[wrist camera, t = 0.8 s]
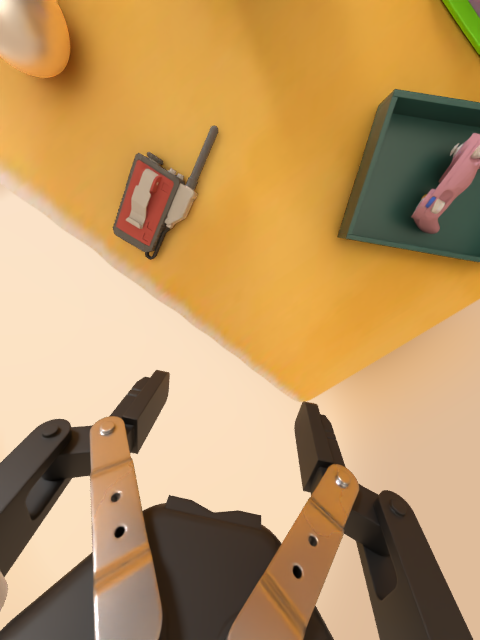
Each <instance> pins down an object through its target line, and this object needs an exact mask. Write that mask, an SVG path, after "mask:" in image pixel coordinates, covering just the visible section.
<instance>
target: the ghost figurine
mask: <svg viewBox="0 0 480 640" xmlns="http://www.w3.org/2000/svg"><path fill="white" fill-rule="evenodd" d="M69 56H70V37H69V32H68V28H67V24H66V21H65V18H64V16H63V13H62V11H61V9H60V7H59V5H58V3H57V1H56V0H0V57H1V58H2V59H3V60H5V61H6V62H7V63H9V64H10V65H11V66H13V67H14V68H16V69H18V70H20V71H22V72H24V73H26V74H28V75H31V76H35V77H39V78H50V77H54V76H56V75H58V74H60V73H61V72H62V71H63V70H64V69H65V67H66V65H67V63H68V60H69Z"/></svg>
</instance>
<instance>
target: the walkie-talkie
mask: <svg viewBox="0 0 480 640" xmlns="http://www.w3.org/2000/svg"><path fill="white" fill-rule="evenodd" d="M217 134H218V128H217V126H215V125H213V126H212V127H211V128H210V131H209V133H208V136H207V138H206V140H205V143H204V145H203V147H202V150H201V152H200V155H199V157H198V159H197V162H196V164H195V167H194V169H193V171H192V174H191V176H190V177H189V178H188V180H187V183H186V185H185V183H184V180H183V178H184V176H183V175H181V174H180V173H178V175H175V174H176V171H175V170H173V169H172V168H170V170H168V171H167V170H166V169H164V168H163V167H161V166H160V164H161V165H162V164H163V160H161V159H159V158H158V157H156V156H155V155H153V154H152V153H150V152H148V153H147V156H148V157H149V158H147V157H145V156H143V155H142V154H140V153H138V154H136V155H135V159H134V162H133V165H132V168H131V171H130V174H129V177H128V181H127V184H126V187H125V188H126V189H125V191H124V194H123V198H122V201H121V204H120V206H119V207H120V208H119V209H118V213H117V217H116V220H115V223H114V226H113V230H114V234H115V235H116V236H118V237H120V238H121V239H123V240H125V241H126V242H128V243H130V244H132V245H133V246H135V247H137V248H138V249H140V250H142V251H144V252H145V255H146V257H147V258H148V259H150V260H151V259H154V258H155V257H156V256H157V253H158V251H159V249H160V246H161V244H162V241H163V239H164V237H165V234H166V233H167V232H168V231H169V230H170V229H171V228H173V227H174V224H176V223H178V222H180V221H182V220H184V219H185V218H186V217H187V215H188V212H189V210H190V208H191V206H192V203H193V201H194V199H196V197H197V195H198V194H197V193H196V192H194V190H195V188H196V185H197V183H198V182H197V180H198V178H199V176H200V173H201V171H202V169H203V166H204V164H205V162H206V159H207V157H208V155H209V152H210V150H211V148H212V145H213V143H214V141H215V138H216V136H217ZM176 176H177V177H176ZM154 250H155V252H154V254H153V256H152V257H151V256H150V255H149V252H150V251H154Z"/></svg>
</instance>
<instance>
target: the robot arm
mask: <svg viewBox="0 0 480 640" xmlns="http://www.w3.org/2000/svg"><path fill="white" fill-rule="evenodd" d="M168 391H169V372H164V371H159V370H156V371H155V372H154V373H153V375H152V376H151V377H150V378H149V377H144V378H142V379H141V380H139V381H137V382H136V384H135V385H134V386H133V387H132V390H130V391H129V393H128V394H127V395H126V396H125V397H124V399H123V400H122V401H121V403H120V404H119V405H118V406H117V408H116V409H115V410H114V411H113V413H112V414H111V415H110V416H109V417H105V418H103V419H101V420H99V421H97V422H96V423H95V424H94V425H92V426H85V427H71V425H70V423H69V422H68V421H67V420H64V419H55V420H51V421H47V422H45V423H43V424H41V425H40V426H38V427H37V428H36V429H35V430H33V432H31V433H30V434H29V435H28V436H27V438H25V439H24V440H23V441H22V442H21V443H20V444H19V445H18V446H17V447H16V448H15V449H14V450H13V451H12V452H11V453H10V454H9V455H8V456H7V457H6V458H5V459H4V460H3V461H2V462H1V463H0V610H1V608H2V607H3V605H4V602H5V600H6V596H7V591H8V586H7V582H6V580H5V578H4V577H5V575H6V574H7V573H8V571H9V570H10V568H11V567H12V565H13V564H14V562H15V561H16V559H17V558H18V556H19V555H20V554H21V552H22V550H23V549H24V548H25V546H26V545H27V543H28V542H29V540H30V539H31V537H32V536H33V535H34V533H35V532H36V530H37V529H38V527H39V526H40V524H41V523H42V521H43V519H44V518H45V517H46V515H47V514H48V513H49V511H50V510H51V508H52V507H53V505H54V504H55V502H56V501H57V499H58V498H59V496H60V495H61V494H62V492H63V491H64V489H65V488H66V486H67V485H68V483H69V482H70V480H71V479H72V478H74V477H81V476H90V485H91V486H90V487H91V516H92V545H93V546H92V548H93V552H92V553H91V554H90V555H89V556H87V557H86V558H85V559H84V560H83V561H81V562H80V563H79V564H78V565H77V566H76V567H74V568H73V569H72V570H71V571H70V572H68V573H67V574H66V575H65V576H64V577H62V578H61V579H60V580H59V581H58V582H57V583H55V584H54V585H53V586H52V587H50V588H49V589H48V590H47V591H46V592H44V593H43V594H42V595H41V596H40V597H39V598H37V599H36V600H35V601H34V602H33V603H31V604H30V605H29V606H28V607H27V608H25V609H24V610H23V611H22V612H21V613H19V615H17V616H16V617H15V618H14V619H12V620H11V621H10V622H9V623H8V624H7V625H6V626H5V627H4V628H3V629H2V630H1V631H0V640H334V639H333V637H332V635H331V633H330V632H329V630H328V628H327V626H326V624H325V622H324V621H323V619H322V617H321V615H320V613H319V611H318V610H317V608H316V606H315V604H316V602H317V599H318V597H319V594H320V592H321V589H322V587H323V584H324V582H325V579H326V577H327V574H328V572H329V569H330V567H331V564H332V562H333V559H334V557H335V554H336V552H337V549H338V547H339V544H340V542H341V539H342V537H343V534H346V535H347V536H349V537H351V538H353V539H354V540H356V543H357V547H358V551H359V555H360V559H361V563H362V567H363V572H364V576H365V579H366V584H367V588H368V592H369V596H370V600H371V605H372V608H373V613H374V616H375V621H376V625H377V629H378V633H379V638H380V640H473V638H472V636H471V634H470V632H469V629H468V627H467V625H466V623H465V621H464V619H463V617H462V614H461V612H460V610H459V608H458V606H457V604H456V602H455V600H454V597H453V595H452V593H451V591H450V589H449V587H448V585H447V583H446V580H445V578H444V576H443V574H442V572H441V570H440V568H439V565H438V563H437V561H436V559H435V557H434V555H433V552H432V550H431V548H430V546H429V544H428V542H427V540H426V537H425V535H424V533H423V531H422V529H421V527H420V525H419V523H418V520H417V518H416V516H415V514H414V512H413V510H412V509H411V507H410V506H409V504H408V503H407V502H406V501H405V500H404V499H403V498H402V497H400V496H399V495H397V494H396V493H394V492H392V491H388V490H384V491H382V492H381V493H380V494H379V495H378V494H376V493H374V492H372V491H370V490H369V489H367V488H365V487H363V486H361V485H360V484H358V481H357V479H356V478H355V476H354V475H353V474H352V473H351V472H350V471H349V470H348V469H347V468H346V467H345V464H344V461H343V458H342V456H341V452H340V449H339V446H338V443H337V441H336V437H335V434H334V431H333V428H332V425H331V423H330V421H329V420H328V419H327V417H326V416H325V415H321V414H320V412H319V409H318V406H317V404H314V403H309V402H303V403H302V405H301V408H300V411H299V413H298V416H297V418H296V421H295V437H296V444H297V451H298V458H299V465H300V472H301V479H302V486H303V491H307V492H311V497H310V498H309V499H308V501H307V503H306V504H305V506H304V508H303V509H302V511H301V513H300V514H299V516H298V518H297V519H296V521H295V523H294V524H293V526H292V528H291V529H290V531H289V532H288V534H287V536H286V537H285V539H284V541H283V543H282V544H281V542H280V541H279V540H278V539H277V537H276V536H275V535H274V534H273V533H272V532H271V531H270V530H269V529H267V528H266V527H265V526H263V525H261V515H256V514H251V513H247V512H243V511H228V512H217V513H214V512H211V511H209V510H208V509H206V508H204V507H202V506H201V505H199V504H197V503H195V502H194V501H192V500H188V499H183V498H179V497H175V496H170V495H169V497H168V500H167V503H164V504H159V505H155V506H152V507H150V508H148V509H146V510H144V511H142V506H141V501H140V496H139V491H138V485H137V480H136V475H135V469H134V464H133V460H132V458H131V456H130V453H136V454H138V452H139V450H140V448H141V446H142V445H143V443H144V441H145V439H146V437H147V436H148V434H149V432H150V430H151V428H152V426H153V425H154V423H155V421H156V419H157V417H158V416H159V414H160V412H161V410H162V408H163V406H164V404H165V402H166V400H167V397H168Z"/></svg>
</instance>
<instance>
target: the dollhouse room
mask: <svg viewBox="0 0 480 640" xmlns="http://www.w3.org/2000/svg"><path fill="white" fill-rule="evenodd" d="M442 1H443V3H444V4H445V6H446V7H447V9H448V10H449V12H450V13H451V15H452V16H453V18H454V19H455V21H456V22H457V24H458V25H459V27H460V28H461V30H462V31H463V33H464V34H465V36H466V37H467V38H468V40H469V41H470V43H471V44H472V46H473V47H474V49H475V50H476V51H477V53H478V54H479V55H480V0H442Z"/></svg>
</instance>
